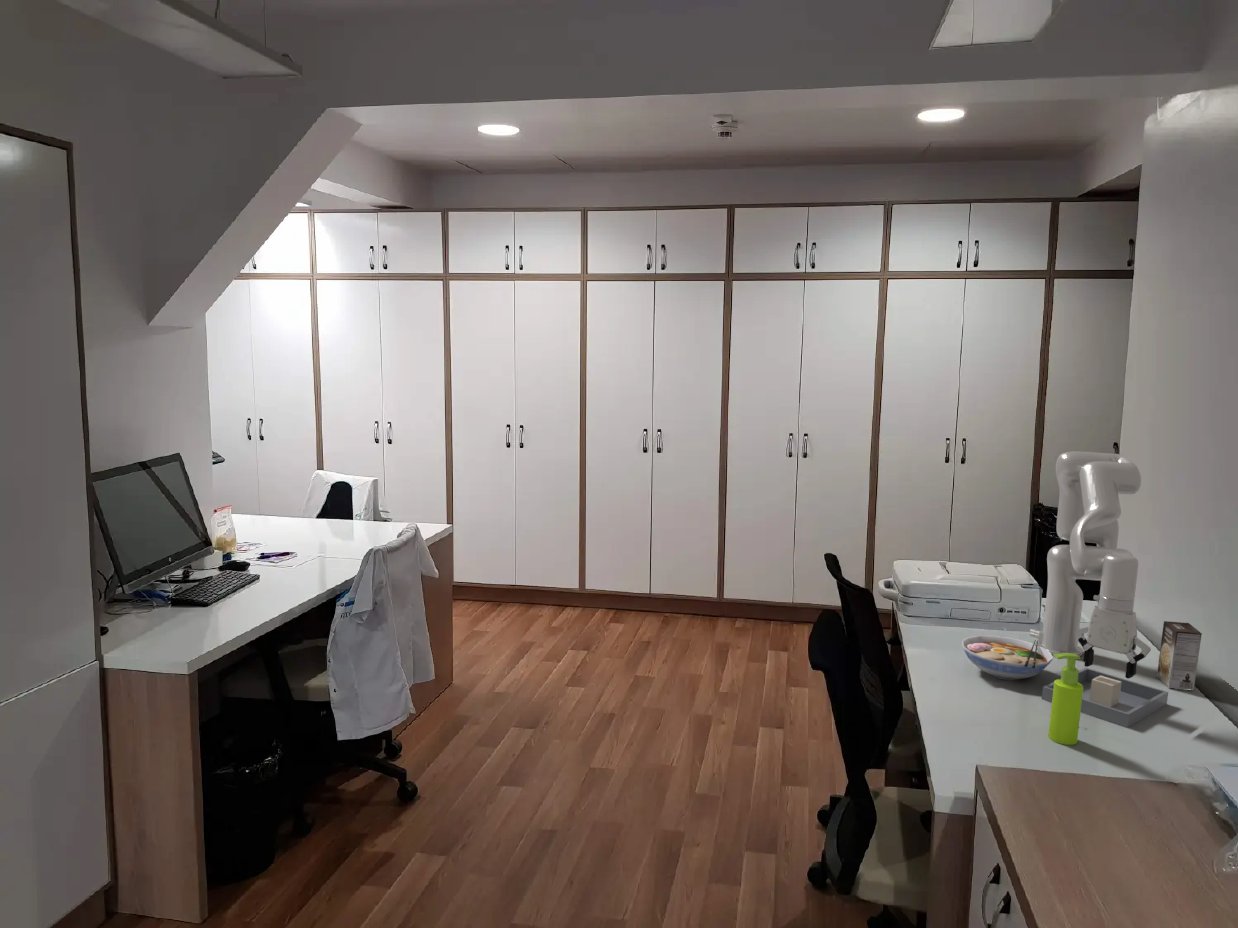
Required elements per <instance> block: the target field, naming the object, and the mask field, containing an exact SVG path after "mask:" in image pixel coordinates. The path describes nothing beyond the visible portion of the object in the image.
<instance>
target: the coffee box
mask: <svg viewBox="0 0 1238 928" xmlns="http://www.w3.org/2000/svg"><path fill="white" fill-rule="evenodd" d="M1202 635H1203V634H1202V633H1201V631H1199V630H1198V629H1197V628H1196V627H1194V625H1192V624H1190V623H1189V622H1181V621H1167V620H1166V621H1165V620H1164V621H1163V627H1162V634H1161V640H1160V649H1159V656H1158V664H1157V670H1156V671H1157V673H1156V677H1157V678H1158V679H1159V680H1160V681H1161V682H1162V683H1163V684H1164V685H1165V686H1166V687H1167V686H1168V687H1167V688H1168V689H1169V688H1175V689H1174V690H1177V689H1191V690H1195V685H1196V684H1195V683H1196V677H1197V671H1198V662H1199V654H1200V650H1201V649H1200V648H1201V642H1202V641H1201V640H1202Z"/></svg>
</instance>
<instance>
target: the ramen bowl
mask: <svg viewBox="0 0 1238 928" xmlns="http://www.w3.org/2000/svg"><path fill="white" fill-rule="evenodd" d="M1036 642H1037V644H1038V639H1037V641H1036V639H1035V640H1034V641H1033V643H1032V642H1030V641H1026V640H1022V639H1017V638H1013V637H1007V636H1001V635H1000V636H999V635H983V634H982V635H974V636H968V637H966V638H963V639H962V640H961V644H962V648H963V650H964V653H965V654H966V656H967V658H968V659H969V660H970V662H971V663H972V664H974V665H975V667H977V668H978V669H979V670H981V671H983V672H985V673H987V674H990V675H991V676H992V677H995V678H996V679H1000V680H1001V679H1002V680H1005V681H1015V680H1020V679H1021V680H1022V679H1028V678H1032V677H1034V676H1037V675H1038V674H1039V673H1041V672H1042V671H1043V670H1045V669H1046V668H1047V667H1048V666H1049V665H1050V664H1051V662H1052V661H1053V659H1054V656H1053V655H1052V654H1051V652H1049V651H1048V650H1046V649H1045V648H1043V647H1041V646H1038V645H1036Z"/></svg>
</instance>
